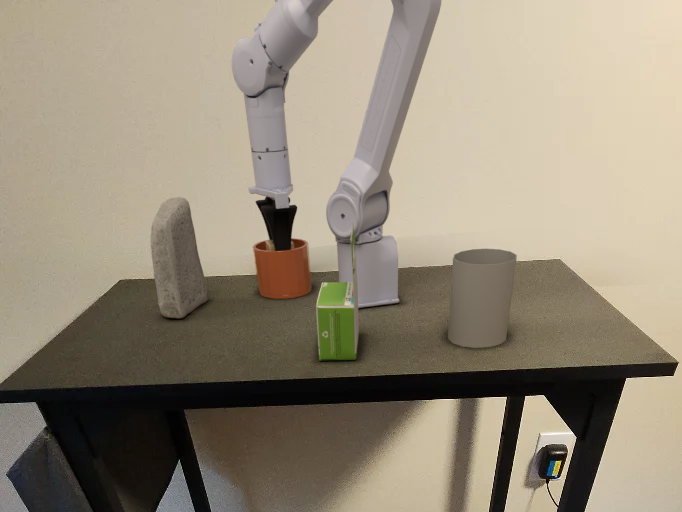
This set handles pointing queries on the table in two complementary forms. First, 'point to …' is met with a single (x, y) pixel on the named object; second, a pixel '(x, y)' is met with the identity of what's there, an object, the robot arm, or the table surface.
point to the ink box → (338, 317)
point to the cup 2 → (481, 297)
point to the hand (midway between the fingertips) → (281, 253)
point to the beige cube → (271, 245)
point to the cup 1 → (283, 270)
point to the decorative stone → (176, 260)
